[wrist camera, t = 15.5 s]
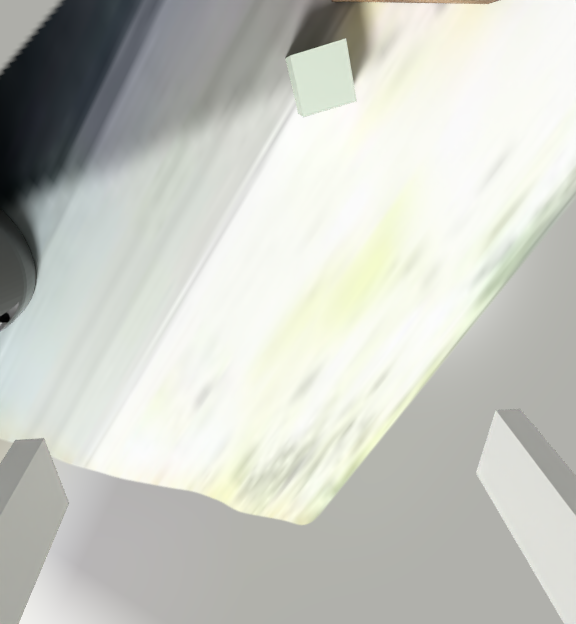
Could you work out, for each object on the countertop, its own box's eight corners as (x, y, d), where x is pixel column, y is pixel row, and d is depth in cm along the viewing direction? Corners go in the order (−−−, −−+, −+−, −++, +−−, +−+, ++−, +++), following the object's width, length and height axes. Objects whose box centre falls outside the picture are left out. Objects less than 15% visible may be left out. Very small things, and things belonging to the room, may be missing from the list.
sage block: (297, 113, 34) (303, 117, 31) (285, 58, 32) (290, 55, 29) (345, 98, 34) (356, 101, 31) (335, 42, 32) (346, 38, 29)
